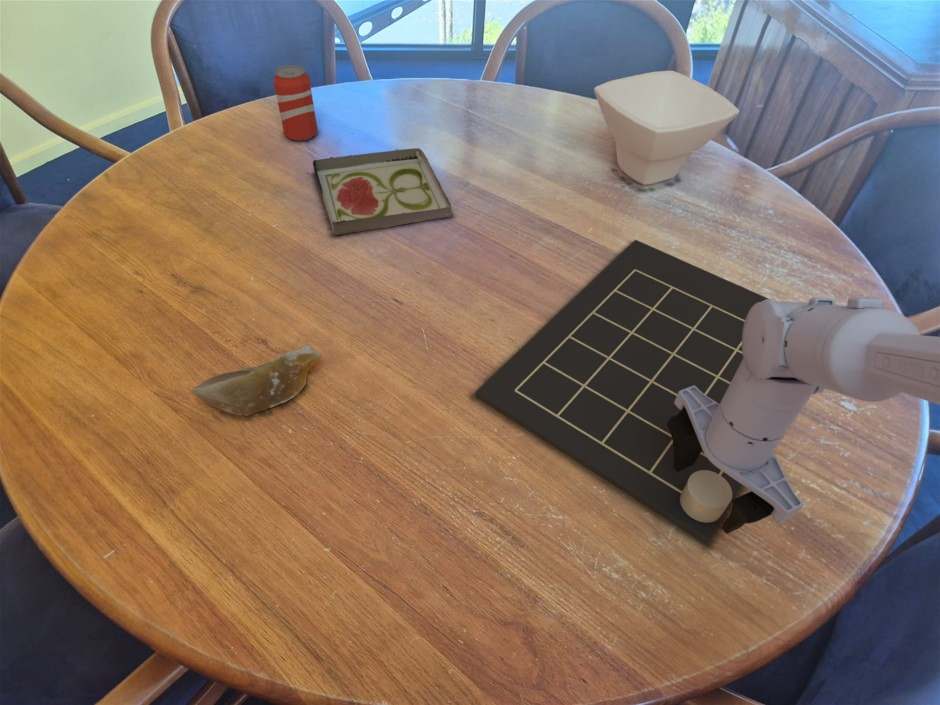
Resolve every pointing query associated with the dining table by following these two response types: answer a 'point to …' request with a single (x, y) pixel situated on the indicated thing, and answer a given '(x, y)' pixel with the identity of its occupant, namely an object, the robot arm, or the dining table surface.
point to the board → (629, 373)
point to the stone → (259, 384)
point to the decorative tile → (380, 190)
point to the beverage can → (295, 102)
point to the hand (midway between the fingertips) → (706, 495)
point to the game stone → (705, 496)
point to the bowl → (660, 121)
